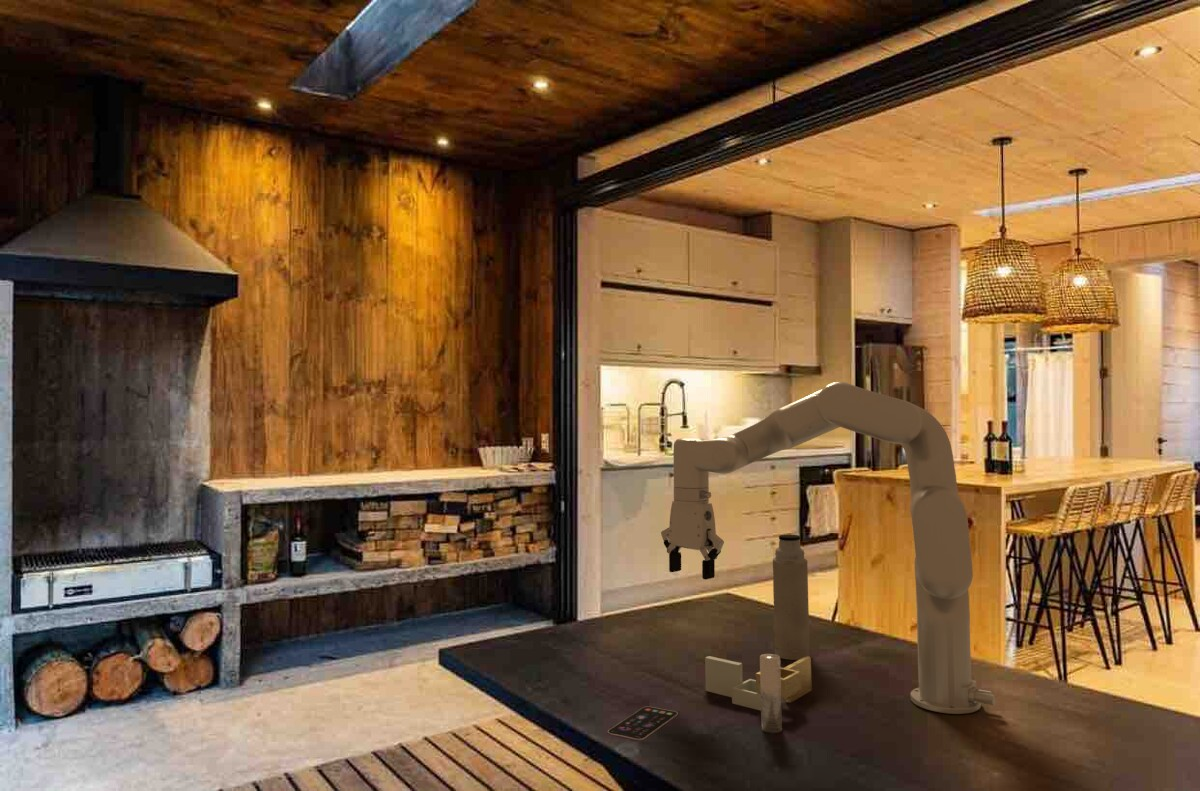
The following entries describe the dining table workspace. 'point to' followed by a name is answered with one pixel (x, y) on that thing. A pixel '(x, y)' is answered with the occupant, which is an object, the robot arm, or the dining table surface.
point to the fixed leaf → (793, 679)
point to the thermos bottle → (790, 599)
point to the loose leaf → (731, 682)
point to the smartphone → (643, 723)
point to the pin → (770, 693)
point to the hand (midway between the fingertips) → (691, 574)
